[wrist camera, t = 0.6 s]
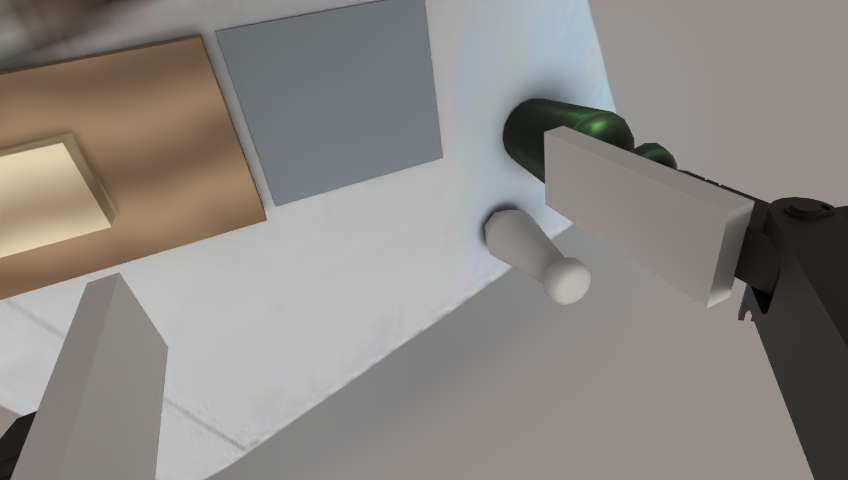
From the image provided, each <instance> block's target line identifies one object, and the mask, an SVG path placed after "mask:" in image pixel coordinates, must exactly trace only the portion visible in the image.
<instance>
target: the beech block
mask: <svg viewBox="0 0 848 480" xmlns="http://www.w3.org/2000/svg"><path fill="white" fill-rule="evenodd" d="M116 214H117V211H116V209H115V207H114V206H113V204H112V202H111V200H110V199H109V197H108V195H107V193H106V191H105V190H104V188H103V186H102V184H101V183H100V181H99V179H98V177H97V175H96V174H95V172H94V170H93V168H92V167H91V165H90V163H89V161H88V159H87V158H86V156H85V154H84V152H83V151H82V149H81V147H80V145H79V143H78V142H77V140H76V138H75V136H74V134H73V133H72V132H70V133H65V134H61V135H56V136H52V137H47V138H43V139H38V140H34V141H29V142H25V143H20V144H16V145H11V146H7V147H2V148H0V258H2V257H5V256H9V255H13V254H16V253H20V252H23V251H27V250H31V249H34V248H38V247H41V246H45V245H49V244H52V243H56V242H59V241H63V240H67V239H70V238H74V237H77V236H81V235H85V234H88V233H92V232H95V231H99V230H103V229H106V228H110V227H112V224H113V222H114V219H115V216H116Z"/></svg>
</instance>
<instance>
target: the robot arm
mask: <svg viewBox="0 0 848 480" xmlns="http://www.w3.org/2000/svg"><path fill="white" fill-rule="evenodd" d="M544 151H545V202H546V205H547V206H549V207H550V208H552V209H553V210H555V211H556V212H558V213H560V214H561V215H563V216H564V217H566V218H567V219H569V220H570V221H572V222H574V223H575V224H577V225H578V226H580V227H581V228H583V229H584V230H586V231H587V232H589V233H591V234H592V235H594V236H595V237H597V238H598V239H600V240H602V241H603V242H605V243H606V244H608V245H610V246H611V247H612V248H614V249H615V250H617V251H619V252H620V253H622V254H623V255H625V256H626V257H628V258H629V259H631V260H633V261H634V262H636V263H637V264H639V265H640V266H642V267H643V268H645V269H646V270H648V271H650V272H651V273H653V274H654V275H656V276H657V277H659V278H660V279H662V280H663V281H665V282H667V283H668V284H670V285H671V286H673V287H674V288H676V289H678V290H679V291H680V292H682V293H684V294H685V295H687V296H688V297H690V298H691V299H693V300H694V301H696V302H697V303H699V304H701V305H702V306H704V307H705V308H708V307H710V306H712V305H714V304H716V303H718V302H720V301H722V300H724V299H727V298H728V297H729V296H730V293H731V290H732V286H733V282H734V278H735V277H736V278H738V279H740V280H742V281H744V282H745V283H747V285H746V289H745V292H744V296H743V299H742V303H741V307H740V310H739V314H738V320H744V317H745V314H746V312H748V311H749V310H750V312H751V314H752V318H751V321H754V322H755V325H756V327H757V330H758V333H759V335H760V338H761V341H762V343H763V346H764V348H765V351H766V354H767V356H768V359H769V361H770V364H771V367H772V369H773V372H774V375H775V377H776V380H777V383H778V385H779V388H780V390H781V393H782V395H783V398H784V401H785V403H786V406H787V409H788V411H789V414H790V417H791V419H792V422H793V425H794V427H795V430H796V432H797V435H798V438H799V440H800V443H801V446H802V448H803V451H804V453H805V456H806V458H807V461H808V464H809V467H810V469H811V472H812V474H813V477H814V480H848V206H842V207H836V208H835V207H833V206H832V205H829V204H827V203H824V202H822V201H818V200H814V199H809V198H798V197H791V198H781V199H779V200H775V201H773V202H772V203H771V204H770V203H768V202H765V201H763V200H760V199H757V198H755V197H752V196H749V195H747V194H744V193H742V192H739V191H737V190H734V189H731V188H729V187H726V186H724V185H721V186H719V184H718V183H716V182H713V181H711V180H705V178H703V177H701V176H698V175H695V174H693V173H690V172H688V171H682V170H677V169H672V168H669V167H667V166H664V165H661V164H659V163H656V162H654V161H651V160H649V159H646V158H644V157H641V156H639V155H636V154H634V153H631V152H628V151H626V150H623V149H621V148H618V147H616V146H613V145H611V144H608V143H606V142H603V141H601V140H598V139H596V138H593V137H590V136H588V135H585V134H583V133H580V132H578V131H575V130H573V129H570V128H568V127H565V126H561V127H558V128H555V129H552V130H549V131H546V132H544ZM167 353H168V346H167V344H166V343H165V341H164V340H163V338H162V337H161V335H160V334H159V332H158V331H157V329H156V328H155V326H154V325H153V323H152V321H151V320H150V318H149V317H148V315H147V314H146V312H145V311H144V309H143V308H142V306H141V305H140V303H139V302H138V300H137V299H136V297H135V296H134V294H133V293H132V291H131V289H130V288H129V286H128V285H127V283H126V282H125V280H124V279H123V277H122V276H121V274H120V273H116V274H113V275H110V276H107V277H104V278H101V279H98V280H95V281H92V282H89V283H87V285H86V288H85V290H84V293H83V295H82V298H81V300H80V303H79V306H78V308H77V311H76V313H75V316H74V318H73V321H72V323H71V326H70V329H69V331H68V334H67V336H66V339H65V341H64V344H63V346H62V349H61V352H60V354H59V357H58V359H57V362H56V364H55V367H54V369H53V372H52V375H51V377H50V380H49V382H48V385H47V387H46V390H45V392H44V395H43V398H42V400H41V403H40V405H39V408H38V410H37V411H36V412H33V413H31V414H28V415H25V416H23V417H20V418H18V419H16V421H15V422H14V423H13V424H12V425H11V427H10V428H9V429H8V430H7V431H6V433H5V434H4V435H3V436H2V437H1V439H0V480H155V473H156V463H157V453H158V443H159V433H160V423H161V413H162V403H163V393H164V383H165V373H166V363H167Z"/></svg>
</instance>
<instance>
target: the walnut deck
mask: <svg viewBox="0 0 848 480" xmlns="http://www.w3.org/2000/svg"><path fill="white" fill-rule="evenodd" d="M70 132H72V133H73V134H74V136H75V138H76V140H77V142H78V143H79V145H80V147H81V149H82V151H83V152H84V154H85V156H86V158H87V159H88V161H89V163H90V165H91V167H92V168H93V170H94V172H95V174H96V175H97V177H98V179H99V181H100V183H101V184H102V186H103V188H104V190H105V191H106V193H107V195H108V197H109V199H110V200H111V202H112V204H113V206H114V207H115V209H116V211H117V214H116V216H115V219H114V222H113V224H112V227H110V228H106V229H103V230H99V231H95V232H92V233H88V234H85V235H81V236H77V237H74V238H70V239H67V240H63V241H59V242H56V243H52V244H49V245H45V246H41V247H38V248H34V249H31V250H27V251H23V252H20V253H16V254H13V255H9V256H5V257H2V258H0V300H2V299H5V298H9V297H12V296H15V295H19V294H22V293H25V292H29V291H32V290H35V289H39V288H42V287H45V286H49V285H52V284H55V283H59V282H62V281H65V280H69V279H72V278H75V277H79V276H82V275H85V274H89V273H92V272H96V271H99V270H102V269H106V268H109V267H112V266H116V265H119V264H122V263H126V262H129V261H132V260H136V259H139V258H142V257H146V256H149V255H152V254H156V253H159V252H162V251H166V250H169V249H172V248H176V247H179V246H182V245H186V244H189V243H193V242H196V241H199V240H203V239H206V238H209V237H213V236H216V235H219V234H223V233H226V232H229V231H233V230H236V229H239V228H243V227H246V226H249V225H253V224H256V223H259V222H263V221H266V220H267V218H266V215H265V211H264V207H263V205H262V202H261V199H260V196H259V194H258V191H257V188H256V185H255V183H254V180H253V177H252V174H251V172H250V169H249V166H248V163H247V161H246V158H245V155H244V152H243V150H242V147H241V144H240V141H239V139H238V136H237V133H236V130H235V128H234V125H233V122H232V119H231V117H230V114H229V111H228V108H227V106H226V103H225V100H224V97H223V95H222V92H221V89H220V86H219V84H218V81H217V78H216V75H215V73H214V70H213V67H212V64H211V62H210V59H209V56H208V53H207V51H206V48H205V45H204V43H203V40H202V37H201V34H198V35H193V36H188V37H182V38H177V39H171V40H166V41H161V42H155V43H150V44H144V45H139V46H134V47H128V48H123V49H117V50H112V51H107V52H101V53H96V54H90V55H85V56H80V57H74V58H69V59H63V60H58V61H53V62H47V63H42V64H36V65H31V66H26V67H20V68H15V69H9V70H4V71H0V148H2V147H7V146H11V145H16V144H20V143H25V142H29V141H34V140H38V139H43V138H47V137H52V136H56V135H61V134H65V133H70Z"/></svg>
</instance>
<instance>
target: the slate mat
mask: <svg viewBox="0 0 848 480" xmlns="http://www.w3.org/2000/svg"><path fill="white" fill-rule="evenodd" d="M215 33H216V35H217V38H218V41H219V44H220V47H221V50H222V53H223V56H224V58H225V61H226V64H227V67H228V70H229V73H230V76H231V79H232V82H233V84H234V87H235V90H236V93H237V96H238V99H239V102H240V105H241V107H242V110H243V113H244V116H245V119H246V122H247V125H248V128H249V131H250V133H251V136H252V139H253V142H254V145H255V148H256V151H257V154H258V156H259V159H260V162H261V165H262V168H263V171H264V174H265V177H266V180H267V182H268V185H269V188H270V191H271V194H272V197H273V200H274V203H275V205H276V206H280V205H283V204H287V203H290V202H293V201H297V200H300V199H304V198H307V197H310V196H314V195H317V194H321V193H324V192H328V191H331V190H334V189H338V188H341V187H345V186H348V185H351V184H355V183H358V182H362V181H365V180H369V179H372V178H375V177H379V176H382V175H386V174H389V173H392V172H396V171H399V170H403V169H406V168H410V167H413V166H416V165H420V164H423V163H427V162H430V161H433V160H437V159H440V158H443V154H442V145H441V136H440V128H439V119H438V111H437V102H436V94H435V85H434V77H433V68H432V60H431V51H430V43H429V34H428V25H427V17H426V8H425V0H382V1H377V2H371V3H366V4H360V5H355V6H350V7H344V8H339V9H333V10H328V11H323V12H317V13H312V14H306V15H301V16H296V17H290V18H285V19H279V20H274V21H269V22H263V23H258V24H252V25H247V26H242V27H236V28H231V29H225V30H220V31H215Z"/></svg>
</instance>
